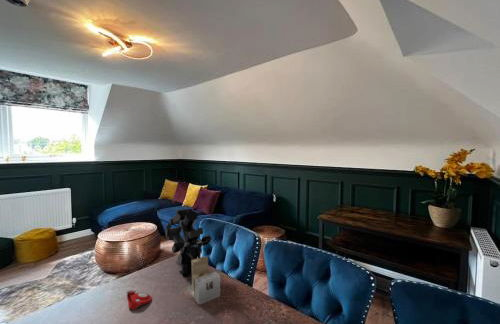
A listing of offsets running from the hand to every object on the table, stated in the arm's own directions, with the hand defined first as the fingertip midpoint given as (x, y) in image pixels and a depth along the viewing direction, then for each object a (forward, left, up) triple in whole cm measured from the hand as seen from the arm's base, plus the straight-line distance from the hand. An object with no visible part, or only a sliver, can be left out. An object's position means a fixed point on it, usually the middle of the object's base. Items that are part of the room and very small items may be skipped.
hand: (197, 260), depth 110 cm
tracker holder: (-4, -25, -13) cm, 28 cm away
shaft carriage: (+6, 0, -11) cm, 13 cm away
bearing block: (+6, 0, -12) cm, 14 cm away
